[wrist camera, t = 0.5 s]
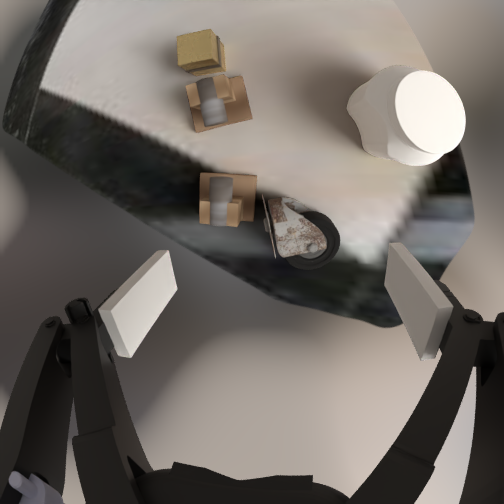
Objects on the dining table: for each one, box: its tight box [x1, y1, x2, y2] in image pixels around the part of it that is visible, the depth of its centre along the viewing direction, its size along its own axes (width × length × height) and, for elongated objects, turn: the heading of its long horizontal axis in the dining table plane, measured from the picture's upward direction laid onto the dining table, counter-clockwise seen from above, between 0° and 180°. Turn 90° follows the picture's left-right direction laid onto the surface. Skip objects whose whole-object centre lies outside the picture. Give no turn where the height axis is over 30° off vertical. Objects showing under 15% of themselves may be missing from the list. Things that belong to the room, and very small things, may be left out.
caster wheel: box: [262, 194, 340, 270], centre depth 38 cm, size 7×11×10 cm
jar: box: [347, 65, 465, 166], centre depth 25 cm, size 12×10×15 cm
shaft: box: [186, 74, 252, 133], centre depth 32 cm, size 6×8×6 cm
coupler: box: [177, 29, 226, 76], centre depth 29 cm, size 5×5×7 cm
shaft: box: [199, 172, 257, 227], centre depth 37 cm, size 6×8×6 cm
